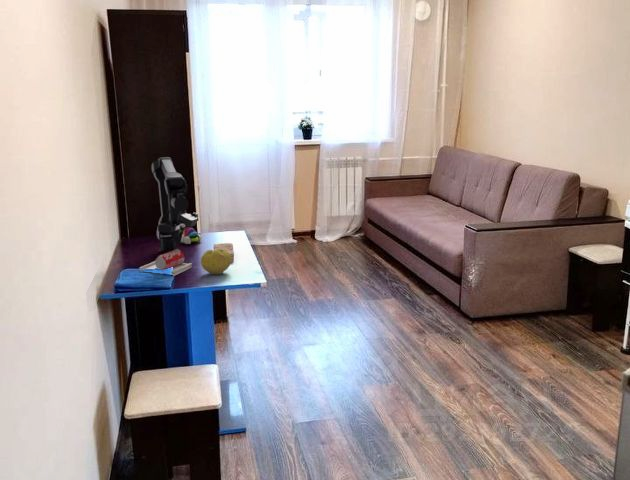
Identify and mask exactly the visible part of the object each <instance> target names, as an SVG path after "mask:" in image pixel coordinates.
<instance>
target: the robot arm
mask: <svg viewBox="0 0 630 480" xmlns="http://www.w3.org/2000/svg"><path fill="white" fill-rule="evenodd" d="M151 172H152V174H153V177H154V178H155V180H156V182H157V185H158V194H159V195H158V196H159V204H160V213H161V216H160V217H159V219H158V225H157V228H156V229H157V230H156V237H157V239H158V240H159V244H160V245H159V247H160V248H159V250H157V251H158V252H159V253H167V252H170V251H173V250H176V249H178V250H179V248H178V246H180V245H181V243H182V242H181V239H182V235H183V232H184V231H185V230H186V229H187V228H193V227H196V224H197V222H199V214H198V213H197V212H193V213H187V212H188V211H187V210H188V208H189V207H190V206H189V205H190V204H189V202H190V201H189V200H188V199H187V198H186V197H185V195H187V194H188V191H189V189H188V188H189V187H188V185H187V181H186V180H185V178H184V177H183V175H182V174H181V173H179V172H177V170H176V169H175V167H174V163H173V160H172V158H171V157H169V156H166V157H165V156H163V157H159V158H158V159H157V160H154V161H152V163H151Z"/></svg>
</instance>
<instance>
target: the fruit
mask: <svg viewBox="0 0 630 480" xmlns="http://www.w3.org/2000/svg"><path fill="white" fill-rule="evenodd" d="M231 259H232V258H231V255H230V253H229V252H228V251H226V250H224V249H216V250H214V249H208V250H206V251H205V252H204V253H203V255H201V259H200V264H201V265H200V266H201V268H202V269H203V270H204V271H206V272H207V273H209V274H211V275H213V276H214V275H215V276H216V275H217V276H219V275H221V274H223V273H224V272H225V271H226V270H228V268H229V267H230V266H231V264H232V263H231Z"/></svg>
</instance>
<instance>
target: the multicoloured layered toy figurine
mask: <svg viewBox="0 0 630 480" xmlns="http://www.w3.org/2000/svg"><path fill="white" fill-rule="evenodd" d="M202 239H203V237H202V235H201V234H198V232H197V231H196V230H195V229H194V228H193V227H188V228H187V229H186V230H185V231H184V232H183V235H182V239H181V242H180V243H181V244H186V245H187V244H190V245H191V243H192V242H196V243H198V242H199V243H201V242H202Z"/></svg>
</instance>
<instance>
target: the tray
mask: <svg viewBox="0 0 630 480" xmlns="http://www.w3.org/2000/svg"><path fill="white" fill-rule="evenodd" d="M193 267H194V266H193V263H192V262H190V263H185V262H183V263H181V264H179V265H177V266H174V267H173V271H172V272H171V273H172V274H173V276H172V277H175V276H176V275H179V274H180V273H183V272H185V271H187V270H189V269H191V268H193ZM155 268H157V267H156V264H155V260H154V261H151V262H150V263H148V264H144V265H141V266H140V267H139V268H138V269H139V270H143V269H155ZM139 270H138V271H139Z"/></svg>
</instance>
